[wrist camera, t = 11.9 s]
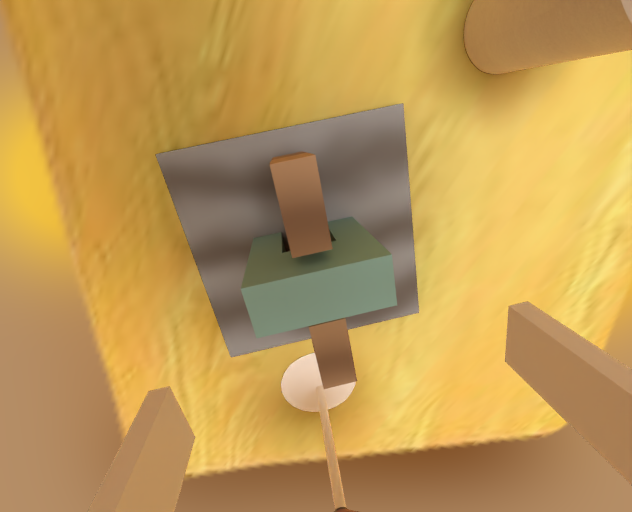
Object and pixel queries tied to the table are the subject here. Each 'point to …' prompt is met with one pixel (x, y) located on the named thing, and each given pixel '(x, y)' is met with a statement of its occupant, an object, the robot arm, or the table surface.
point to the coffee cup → (544, 32)
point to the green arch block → (317, 280)
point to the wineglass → (309, 395)
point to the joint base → (296, 216)
